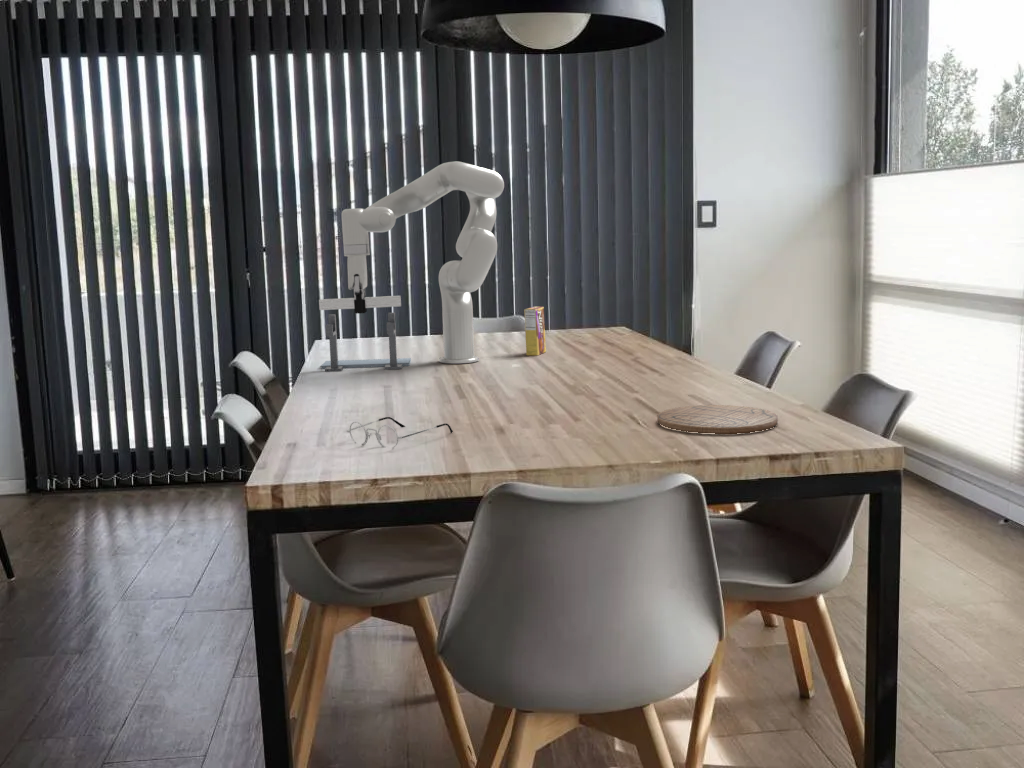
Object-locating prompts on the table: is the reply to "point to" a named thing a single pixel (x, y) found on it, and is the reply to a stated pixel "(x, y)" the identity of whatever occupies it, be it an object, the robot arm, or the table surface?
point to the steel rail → (369, 302)
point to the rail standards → (334, 352)
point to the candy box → (535, 331)
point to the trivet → (717, 419)
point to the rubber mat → (367, 363)
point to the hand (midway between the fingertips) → (360, 312)
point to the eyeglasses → (390, 427)
